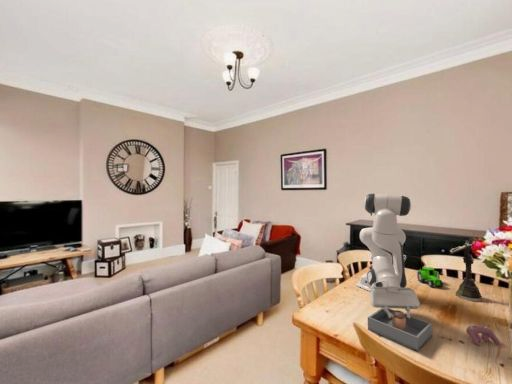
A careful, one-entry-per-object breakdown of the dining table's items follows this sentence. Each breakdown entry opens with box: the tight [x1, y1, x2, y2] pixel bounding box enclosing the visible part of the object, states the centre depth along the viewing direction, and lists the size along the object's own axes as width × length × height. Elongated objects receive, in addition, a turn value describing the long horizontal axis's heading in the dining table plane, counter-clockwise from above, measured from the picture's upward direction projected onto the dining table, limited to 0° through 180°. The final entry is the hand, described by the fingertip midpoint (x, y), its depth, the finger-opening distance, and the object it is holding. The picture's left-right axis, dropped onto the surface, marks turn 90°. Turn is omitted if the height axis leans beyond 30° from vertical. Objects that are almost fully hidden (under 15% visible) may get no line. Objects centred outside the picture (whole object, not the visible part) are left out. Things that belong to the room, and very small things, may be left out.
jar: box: [392, 309, 406, 332], centre depth 108 cm, size 5×5×8 cm
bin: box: [367, 308, 433, 353], centre depth 108 cm, size 20×16×6 cm
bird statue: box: [449, 237, 483, 303], centre depth 143 cm, size 17×13×35 cm
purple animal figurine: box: [465, 324, 501, 346], centre depth 102 cm, size 10×5×7 cm, turn 89°
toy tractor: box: [416, 266, 444, 288], centre depth 163 cm, size 11×16×10 cm
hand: (399, 318), depth 108 cm, fingers open, 6 cm apart
